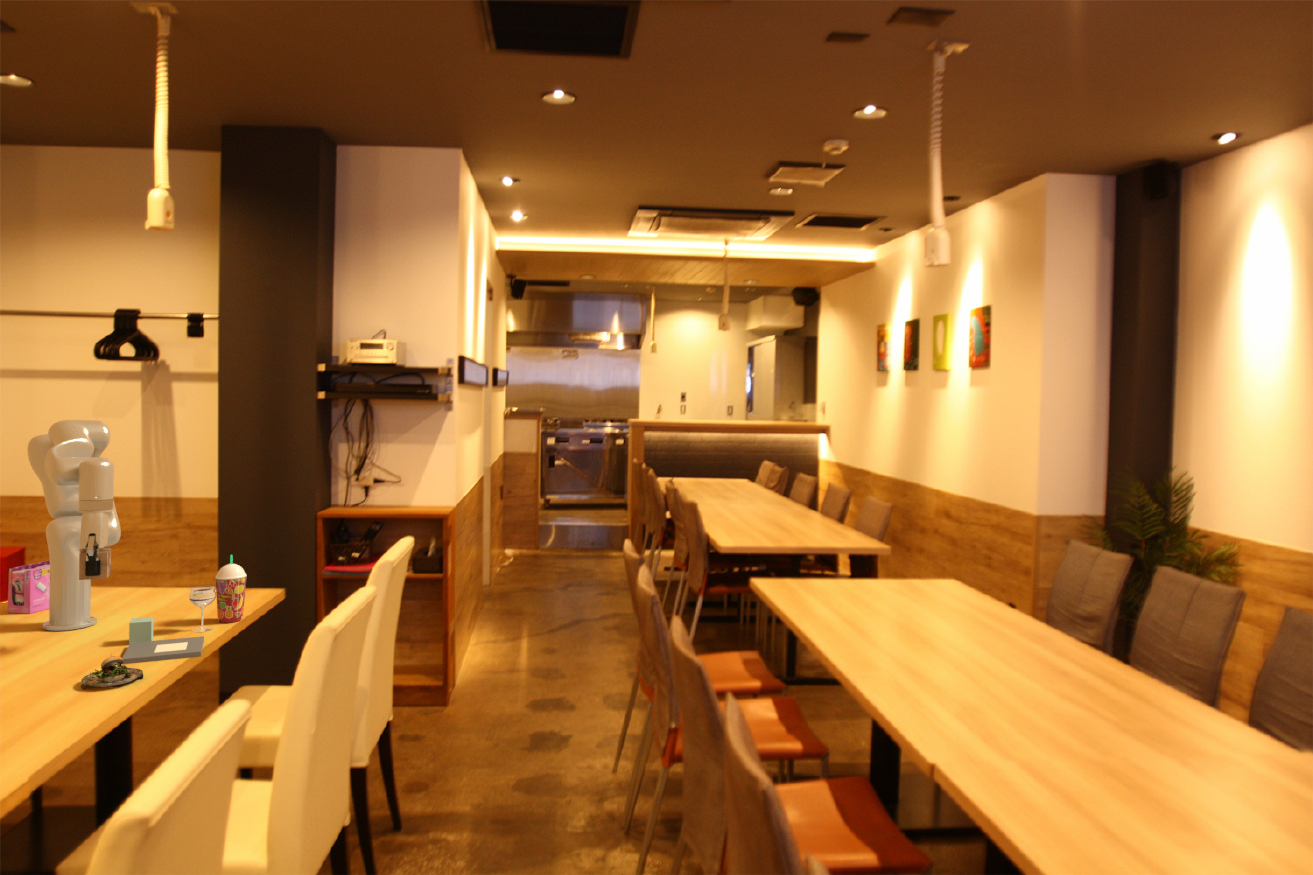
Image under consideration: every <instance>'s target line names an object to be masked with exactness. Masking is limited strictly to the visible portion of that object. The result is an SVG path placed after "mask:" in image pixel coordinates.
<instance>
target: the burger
mask: <svg viewBox="0 0 1313 875" xmlns="http://www.w3.org/2000/svg"><path fill="white" fill-rule="evenodd" d="M122 658H123V657H121V656H117V655H113V656H112V655H110V656H109V657H107V658H106V659H104V660H103V661H102V662H101V664H100V668H101V669H100V670H97V669H94V671H95V672H94V671H92V672H89V674H87V675H84V676H83V677H82V678H81V679H80V680H81V683H82V684H81V685H80V688H81V689H82V690H83V691H85V690H86V686H89V687H94V688H109V687H114V686H121V685H125V684H128V683H131V682H132V681H134V680H136V679H137V678H140V680H142V679H144V672H143V669H140V668H135V667H129V666H127V665H126V664H125V665H124V664H123V659H122Z"/></svg>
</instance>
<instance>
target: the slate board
mask: <svg viewBox="0 0 1313 875" xmlns="http://www.w3.org/2000/svg"><path fill="white" fill-rule="evenodd" d="M204 642H205V636H193V637H191V636H190V637H180V638H168V639H159V640H157V639H156V640H152V641H146V642H135V643H130V644H129V643H128V646H127V648H126V650H125V651H124V654H123V656H122V657H121V658H122V659H123V664H122V665H124V664H125V665H126V664H134V663H135V664H136V663H146V662H155V661H156V662H157V661H165V660H174V659H184V658H185V659H188V658H195V657H201V656H202V651H203V647H204Z"/></svg>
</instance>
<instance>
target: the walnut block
mask: <svg viewBox="0 0 1313 875" xmlns="http://www.w3.org/2000/svg"><path fill="white" fill-rule="evenodd" d="M86 551H87V549H84V550H81V551H80V552H81V553H79V580H89V579H91V580H101V579H102V580H103V579H104V580H105V579H108V578H109V577H110V576H111V575H112V548H104V549H100V556H99V560H101V574H100V575H99V576H85V561H86ZM96 553H97V552H96Z"/></svg>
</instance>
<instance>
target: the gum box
mask: <svg viewBox="0 0 1313 875" xmlns="http://www.w3.org/2000/svg"><path fill="white" fill-rule="evenodd" d="M7 588H8V589H7V613H13V614H26V615H31V614H35V613H38V612H42V611H46V610H49V598H50V559H49V560H43V561H41V562H35V563H30V564H25V565H21V566H20V565H19V566H16V567H13V568H12V567H11V568H9V570H8V587H7Z"/></svg>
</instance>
